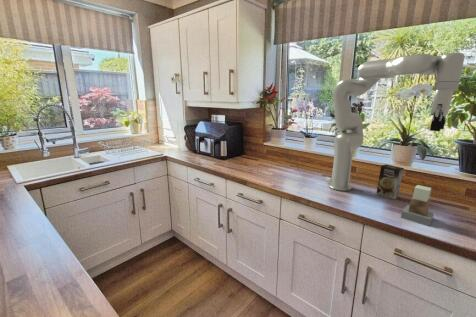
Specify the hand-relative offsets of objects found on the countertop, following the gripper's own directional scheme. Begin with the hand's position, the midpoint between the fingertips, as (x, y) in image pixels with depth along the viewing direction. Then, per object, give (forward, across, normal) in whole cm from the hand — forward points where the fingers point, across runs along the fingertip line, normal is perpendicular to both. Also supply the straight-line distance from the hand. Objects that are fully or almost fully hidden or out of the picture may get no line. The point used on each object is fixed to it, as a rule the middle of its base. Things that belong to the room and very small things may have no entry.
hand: (436, 129), depth 104 cm
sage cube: (+29, +4, 0) cm, 30 cm away
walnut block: (+35, +4, 0) cm, 36 cm away
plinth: (+38, +4, 0) cm, 39 cm away
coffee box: (+38, -15, -17) cm, 45 cm away
